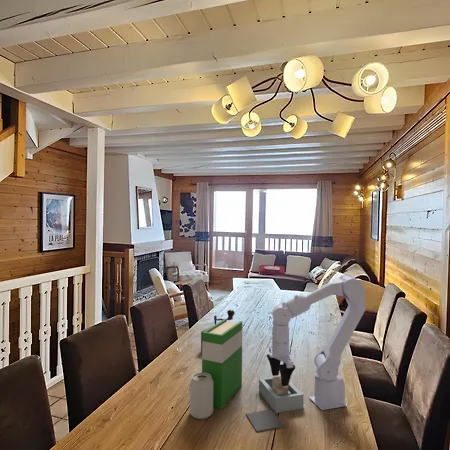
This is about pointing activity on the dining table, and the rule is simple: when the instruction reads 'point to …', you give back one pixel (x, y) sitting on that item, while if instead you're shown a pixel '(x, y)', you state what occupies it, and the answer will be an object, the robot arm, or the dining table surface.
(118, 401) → the dining table surface
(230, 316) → the coffee grinder
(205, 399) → the can
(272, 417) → the mat
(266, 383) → the slot box
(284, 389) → the block
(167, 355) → the dining table surface
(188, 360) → the dining table surface
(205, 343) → the hardback book
